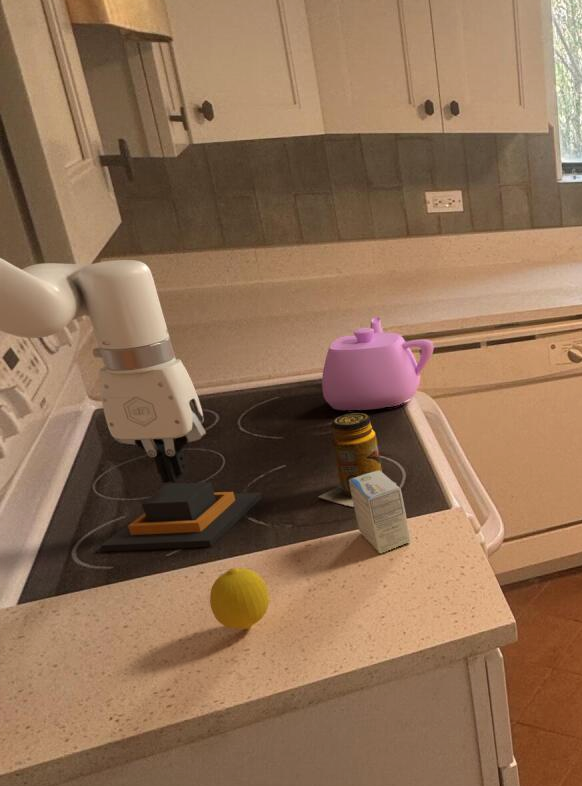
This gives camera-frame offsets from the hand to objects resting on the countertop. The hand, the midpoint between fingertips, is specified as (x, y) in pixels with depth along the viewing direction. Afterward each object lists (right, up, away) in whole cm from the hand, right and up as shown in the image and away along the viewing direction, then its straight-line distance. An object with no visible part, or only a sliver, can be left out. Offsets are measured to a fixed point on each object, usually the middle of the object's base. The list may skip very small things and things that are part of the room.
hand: (175, 478), depth 110 cm
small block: (0, -6, +2) cm, 6 cm away
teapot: (+5, +10, +49) cm, 50 cm away
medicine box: (+30, -8, -1) cm, 32 cm away
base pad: (0, -7, +2) cm, 7 cm away
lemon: (+23, -15, -20) cm, 34 cm away
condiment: (+20, -4, +12) cm, 24 cm away
